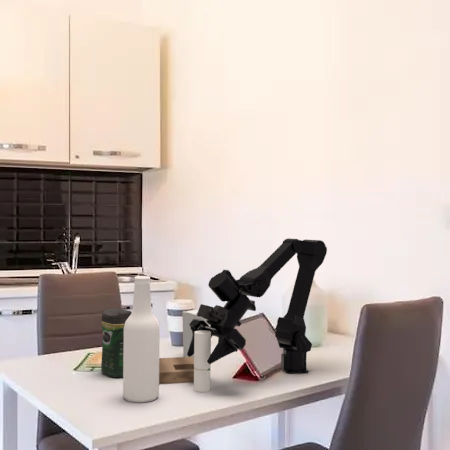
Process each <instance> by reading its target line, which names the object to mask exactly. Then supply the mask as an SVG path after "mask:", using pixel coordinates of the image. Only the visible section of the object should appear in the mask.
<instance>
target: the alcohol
mask: <svg viewBox="0 0 450 450" xmlns="http://www.w3.org/2000/svg"><path fill="white" fill-rule="evenodd" d="M133 279H134V282H133V284H134V287H133V288H134V289H133V297H132V298H133V299H132V300H133V301H132V309H131V312H132V313H131V315H130V316H129V317H128V319H127V320H126V322H125V325H124V353H123V377H122V378H123V379H122V381H123V382H122V384H123V385H122V395H123V398H124V399H125V400H126V401H128V402H131V403H137V404H138V403H149V402H152V401H155V400H157V399H158V396H159V395H160V384H159V358H160V331H161V330H160V329H161V327H160V324H159V323H160V322H159V320H158V318H157V317H156V316H155V315H154V313H153V311H152V310H153V309H152V297H151V286H150V285H151V277H150V276H148V275H135V277H133Z"/></svg>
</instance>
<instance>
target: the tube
mask: <svg viewBox="0 0 450 450" xmlns="http://www.w3.org/2000/svg"><path fill="white" fill-rule="evenodd" d="M211 348H212V337H211V332H210V331H205V330H200V331H195V332H194V382H193V391H195V392H198V393H207V392H209V391H211V366H212V365H211V364H212V363H211V364H209V363H208V362H207V360H208V358H209V357H210V355H211V353H212V351H211V350H212V349H211Z"/></svg>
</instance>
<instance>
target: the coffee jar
mask: <svg viewBox="0 0 450 450" xmlns="http://www.w3.org/2000/svg"><path fill="white" fill-rule="evenodd" d="M131 313H132V310H128V309H123V308H119V307H111V308H106V309H104V311H103V312H102V315H101V327H102V343H101V344H102V347H101V365H100V366H101V367H100V369H101V370H100V371H101V373H102V374H104V375H106V376H109V377H113V378H117V377H121V378H123V353H124V325H125V322H126V320H127V319H128V317H129V316H130V315H131Z"/></svg>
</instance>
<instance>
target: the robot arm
mask: <svg viewBox="0 0 450 450" xmlns="http://www.w3.org/2000/svg"><path fill="white" fill-rule="evenodd" d="M327 252H328V248H327V245H326V243H325V242H324V241H323V240H320V239H303V240H302V239H298V238H290V237H289V238H285V239H284V240H283V241H282V244H280V245H279V246H278V248H277V249H275V251H273V252H272V253H271V254H270V255H269V256H268V257H267V258H266V259H265V260H264V261H263V263H261V264H260V265H259V266H258V267H256V268H253V269H252V270H251V269H250V270H249V271H247V272H246V273H244V274H243V275H242V276H240V277H239V279H236V278H235V277H234V276H233V274H232V272H231V271H230V270H229V269H222V272H219V273H217V274H215V275H213V276H212V277H211V278H210V279H209V281H208V288H210V290H211V291H212V293H213V294H215V295H216V297H217V298H218V299H219V300H220V301H221V302H223V303H224V302H226V303H225V304H224V306H221V305H218V304H216V305H215V306H214V307H213V306H210V305H206V304H200V305H199V308H198V309H197V310H198V313H197V316H199V317H200V316H201V317H203V318H205V319H207V321H206V322H207V323H208V324H210V327H209V326H208V324H207V323H206V322H205V321H204V320H200V319H193V320H192V321H191V323H190V324H189V326H190V327H191V330H192V334H193V336H192V340H191V343H190V346H189V349H188V352H187V355H188V356H189V357H190V356H192V355H193V354H194V332H195V331H200V330H205V331H210V332H211V338H212V337H217V340H218V341H217V344H216V346H215V348H213V350H212V351H211V355H210V357H209V358H208V360H207V362H208V363H209V364H213V363H215V362H217V361H219V360H221V359H222V358H225V357H226V356H228V355H231V354H233V353H235V352H238V351H242V350H244V348H245V347H246V343H247V342H246V341H247V339H246V338H245V337H244V336H243V335H242V334H241V332H240V331H239V330H238V328H236V327H240V326H241V325H242V323H241V320H242V318H243V316H245V314H246V313H247V311H253V312H255V311H256V310H257V309H256V301H255V300H251V299H250V298H249V297H253V298H262V297H263V296H264V295H265V294H266V292H267V291H268V289H269V288H270V287H271V282H272V279H273V278H274V277H275V276H276V275H277V273H278V272H279V271H281V270H282V268H283V267H285V265H287V263H288V262H289V261H291V259H292V258H293V257H294V256H295V255H296V259H297V263H298V270H297V274H296V278H295V281H294V285H293V288H292V293H291V296H290V300H289V305H288V308H287V312H286V313H285V315H284V316H282V317H281V316H278V318H277V322H276V326H275V328H274V331H275V338H276V341H277V344H278V347H279V349H280V348H281V349H282V353H281V356H280V359H281V360H280V362H281V363H280V369H282V370H283V371H284V372H285V373H287V374H300V373H309V369H307V354H308V352H310V351H311V349H312V347H313V346H312V345H313V343H312V342H311V341H310V339H308V337H307V336H306V332H307V331H306V330H307V327H306V321H305V314H306V313H305V312H306V311H307V310H306V309H307V306H308V301H309V298H310V295H311V294H310V293H311V289H312V286H313V283H314V282H313V281H314V277H315V275H316V271H317V270H318V269H319V267H320V266H321V265H322V264H323V263H324V260H325V258H326V255H327V254H328V253H327Z"/></svg>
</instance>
